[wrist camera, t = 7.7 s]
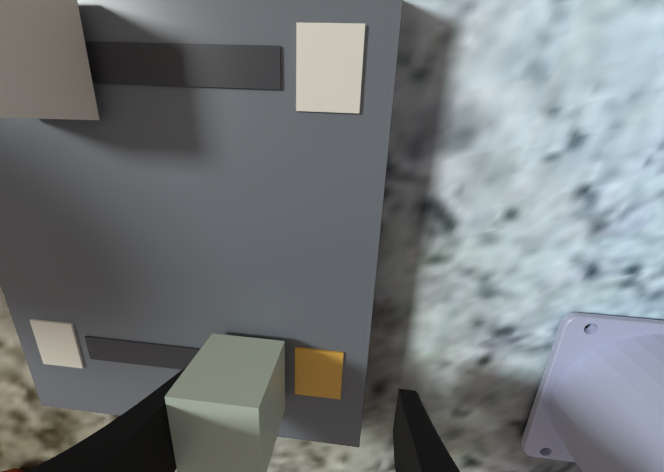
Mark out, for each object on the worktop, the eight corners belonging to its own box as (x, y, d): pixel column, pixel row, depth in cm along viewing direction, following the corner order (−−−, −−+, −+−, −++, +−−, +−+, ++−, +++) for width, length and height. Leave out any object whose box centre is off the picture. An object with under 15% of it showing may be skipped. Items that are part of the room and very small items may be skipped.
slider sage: (284, 341, 13) (258, 408, 10) (285, 408, 14) (262, 487, 11) (212, 333, 13) (164, 396, 10) (218, 399, 14) (177, 474, 11)
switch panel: (398, -2, 10) (406, -33, 8) (360, 410, 16) (359, 449, 14) (-31, -6, 12) (-112, -33, 10) (76, 375, 18) (39, 406, 16)
